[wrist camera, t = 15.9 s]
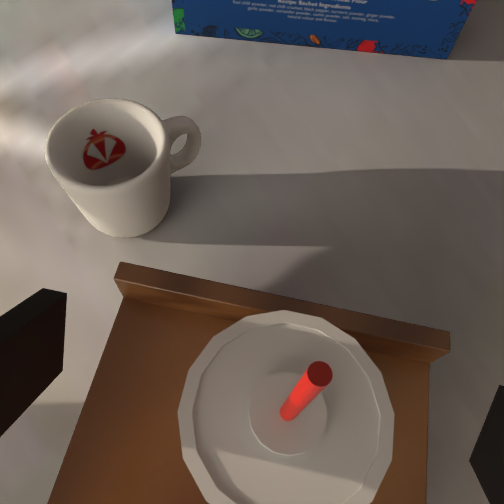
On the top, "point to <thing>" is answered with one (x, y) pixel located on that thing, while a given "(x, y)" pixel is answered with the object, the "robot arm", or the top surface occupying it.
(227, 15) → the blue flat box
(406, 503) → the shelf
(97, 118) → the cup
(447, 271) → the top surface
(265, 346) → the beverage cup
